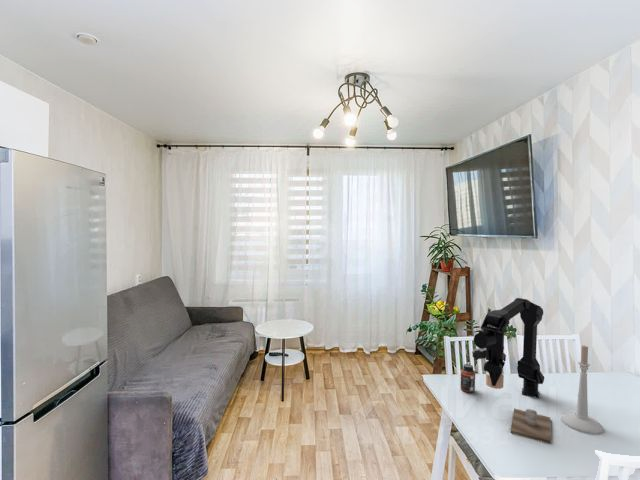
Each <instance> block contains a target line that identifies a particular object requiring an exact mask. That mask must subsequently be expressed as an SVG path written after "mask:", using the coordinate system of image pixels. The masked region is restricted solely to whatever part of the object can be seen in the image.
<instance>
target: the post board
mask: <svg viewBox="0 0 640 480" xmlns="http://www.w3.org/2000/svg"><path fill="white" fill-rule="evenodd" d="M510 434H514V435H518V436H522V437H524V438H529V439H531V438H532V440H536V441H538V440H539V442H543V443H546V444H549V443H551V442H552V440H551V439H552V438H551V437H552V436H551V435H552V434H551V417H550V416H547V415H543V414H538V413H537V411H536V410H535V409H532V408H526V409H525V410H522V409H518V408H513V414H512V419H511V425H510ZM551 444H552V443H551Z"/></svg>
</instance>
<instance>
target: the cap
mask: <svg viewBox="0 0 640 480" xmlns="http://www.w3.org/2000/svg"><path fill="white" fill-rule="evenodd" d="M485 373H486V374H485V385H486V386H487V387H489V388H492V389H494V390H495V389H497V390H500V389H504V374H503V373H502V374H501V376H500V377H499V379H498V381H497V383H496V385H495V386H492V383H491V378H490V374H489V373H488V372H487V371H485Z"/></svg>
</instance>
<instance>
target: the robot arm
mask: <svg viewBox="0 0 640 480" xmlns="http://www.w3.org/2000/svg"><path fill="white" fill-rule="evenodd" d="M518 314H519V316H520V319H521V321H522V323H523V324H524V325H523V346H522V347H523V349H522V357H521V358H520V359H519V360H517V367H516V369H517V376H518V378H520V379H522V380H523V381H522V382H523V383H522V384H523V385H522V388H521V395H525V396H529V397H532V398H536V399H540V390H539V385H543V384H544V382H545V376H544V374H543V373H542V371H541V365H540V363H539V361H538V359H537V343H538V342H537V341H538V340H537V338H538V325H539V324H540V323H541V322H542V320H543V315H544V310H543V308H542V307H541V305H538V304H536V303H533V302H532V301H531V300H529V299H527V298H523V297H516V298H515V299H514V300H513V301H512V302H510V303H508V304H507V305H506V306H504V307H503V308H501V309H494V310H491V311H489V312H487V314H485V317H484V319H483V321H482V324H481V326H480V329H479V330H478V333H476V334H475V335H474V337H473V343H474V345H475V346H476V347H477V348H474V349H473V350H472V351H471V353H472V357H473V360H475V361H477V360H483V359H485V362H484V364H483V371H484V372H488V373H489V374H490V378H491V383H492V386H495V385H496V383H497V381H498V379H499V377H500V376H501V374H503V369H504V366H505V364H506V360H507V354H506V353H505V352H504V350H505V345H504V344H505V333H508V331H507V329H506V328H507V327H508V326H509V324H510V320H511V319H513V318H514V317H516V316H517V315H518Z"/></svg>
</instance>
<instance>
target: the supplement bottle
mask: <svg viewBox="0 0 640 480" xmlns="http://www.w3.org/2000/svg"><path fill="white" fill-rule="evenodd" d="M460 390H461V391H463V392H465V393H467V394H468V393H470V394H472V393H474V392H475V390H476V371H475V370H474V365H473V364H471V363H464V364H463V367H462V369H461V371H460Z"/></svg>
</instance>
